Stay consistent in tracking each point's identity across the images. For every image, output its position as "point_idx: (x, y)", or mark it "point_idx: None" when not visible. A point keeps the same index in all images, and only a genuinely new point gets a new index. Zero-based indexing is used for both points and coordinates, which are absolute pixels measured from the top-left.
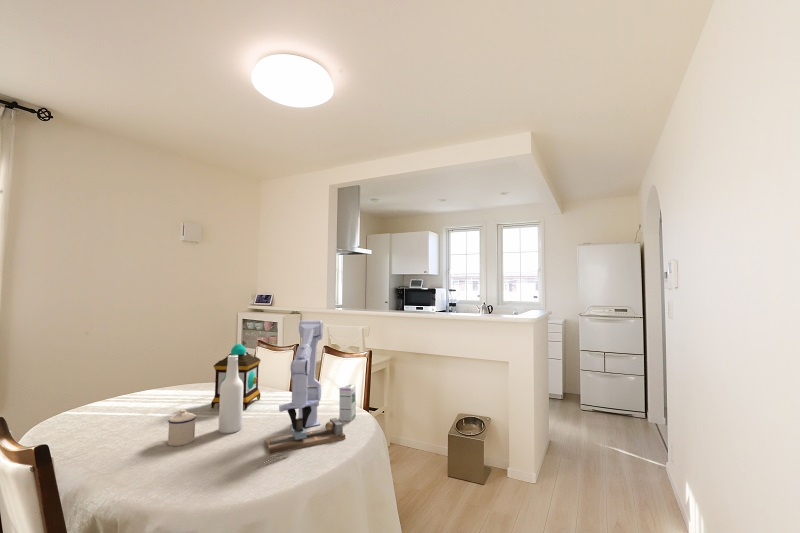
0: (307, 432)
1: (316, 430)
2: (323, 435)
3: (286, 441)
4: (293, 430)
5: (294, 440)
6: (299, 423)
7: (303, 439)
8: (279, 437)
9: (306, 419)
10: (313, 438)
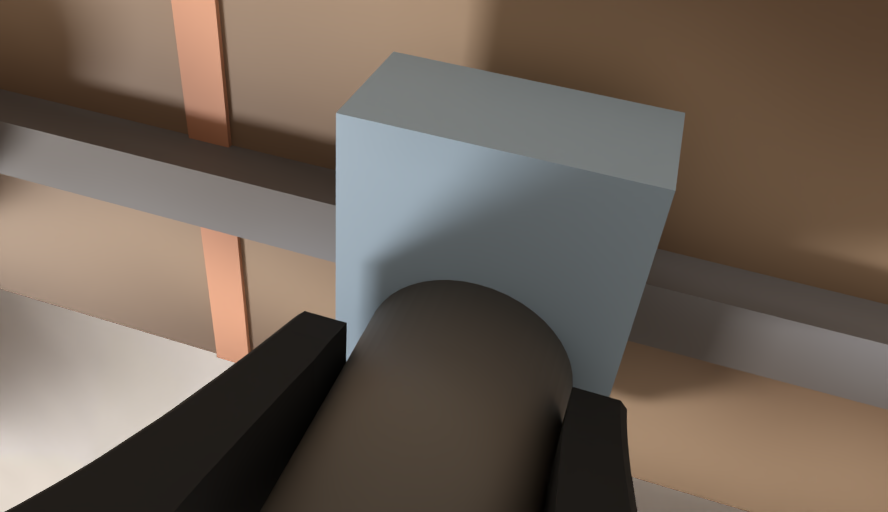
0: None
1: (134, 324)
2: (37, 57)
3: (805, 286)
4: None
5: None
6: (421, 466)
7: None
8: (787, 505)
9: (126, 467)
10: (244, 50)
